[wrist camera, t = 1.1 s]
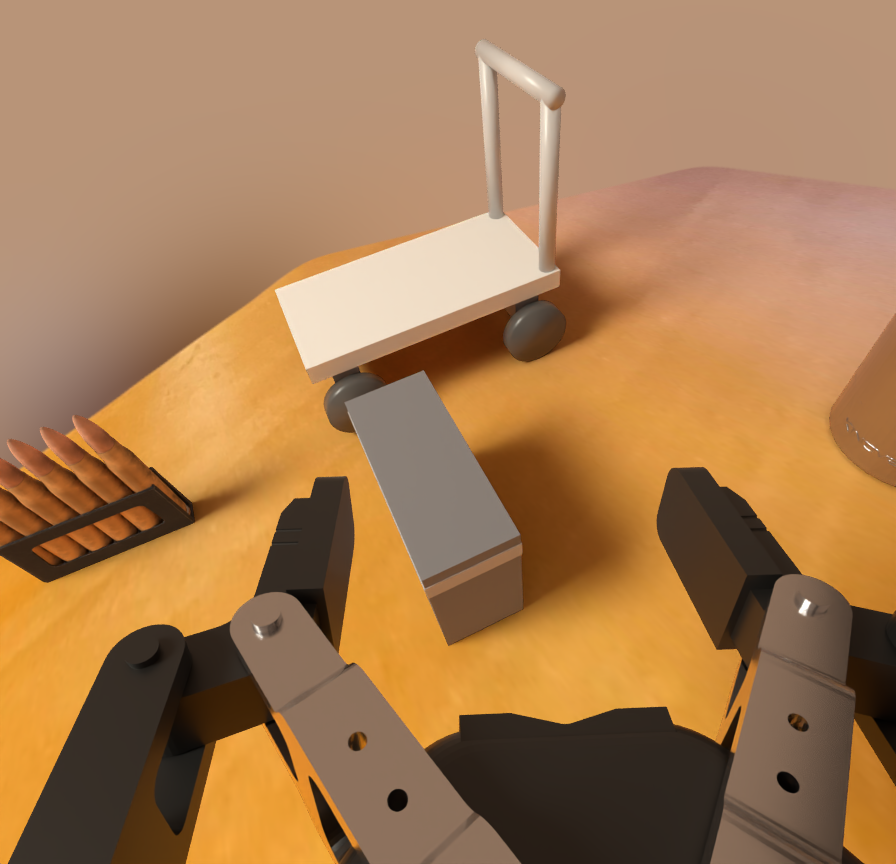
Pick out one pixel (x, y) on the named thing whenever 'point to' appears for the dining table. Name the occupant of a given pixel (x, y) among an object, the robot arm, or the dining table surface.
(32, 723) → the dining table surface
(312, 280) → the trolley
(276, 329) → the dining table surface
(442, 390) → the dining table surface
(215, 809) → the dining table surface
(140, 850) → the robot arm
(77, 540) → the ammunition clip
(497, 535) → the grey lidded box
